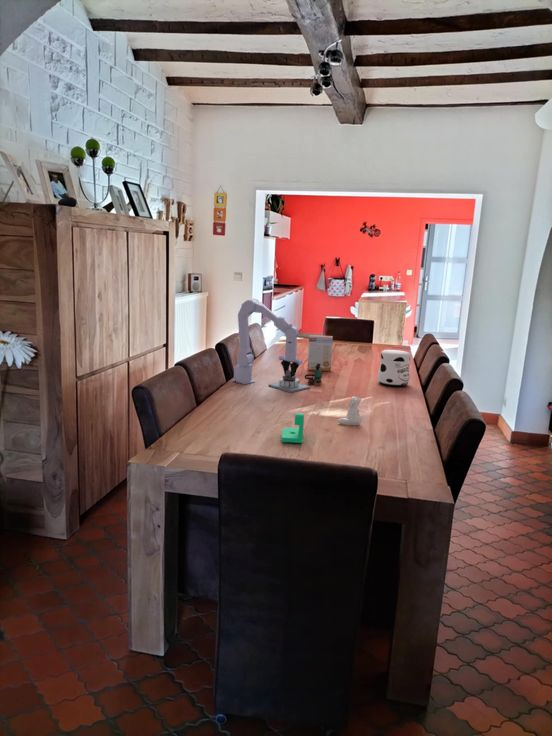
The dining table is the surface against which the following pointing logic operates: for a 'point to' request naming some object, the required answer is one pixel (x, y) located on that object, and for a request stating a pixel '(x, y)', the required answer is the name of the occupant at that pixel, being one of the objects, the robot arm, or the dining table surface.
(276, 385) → the mount plate
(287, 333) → the robot arm
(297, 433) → the camera mount
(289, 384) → the segmented white ring
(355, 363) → the dining table surface
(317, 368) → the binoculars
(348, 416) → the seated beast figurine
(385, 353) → the milk container
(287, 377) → the grey rounded knob
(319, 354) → the cracker box
